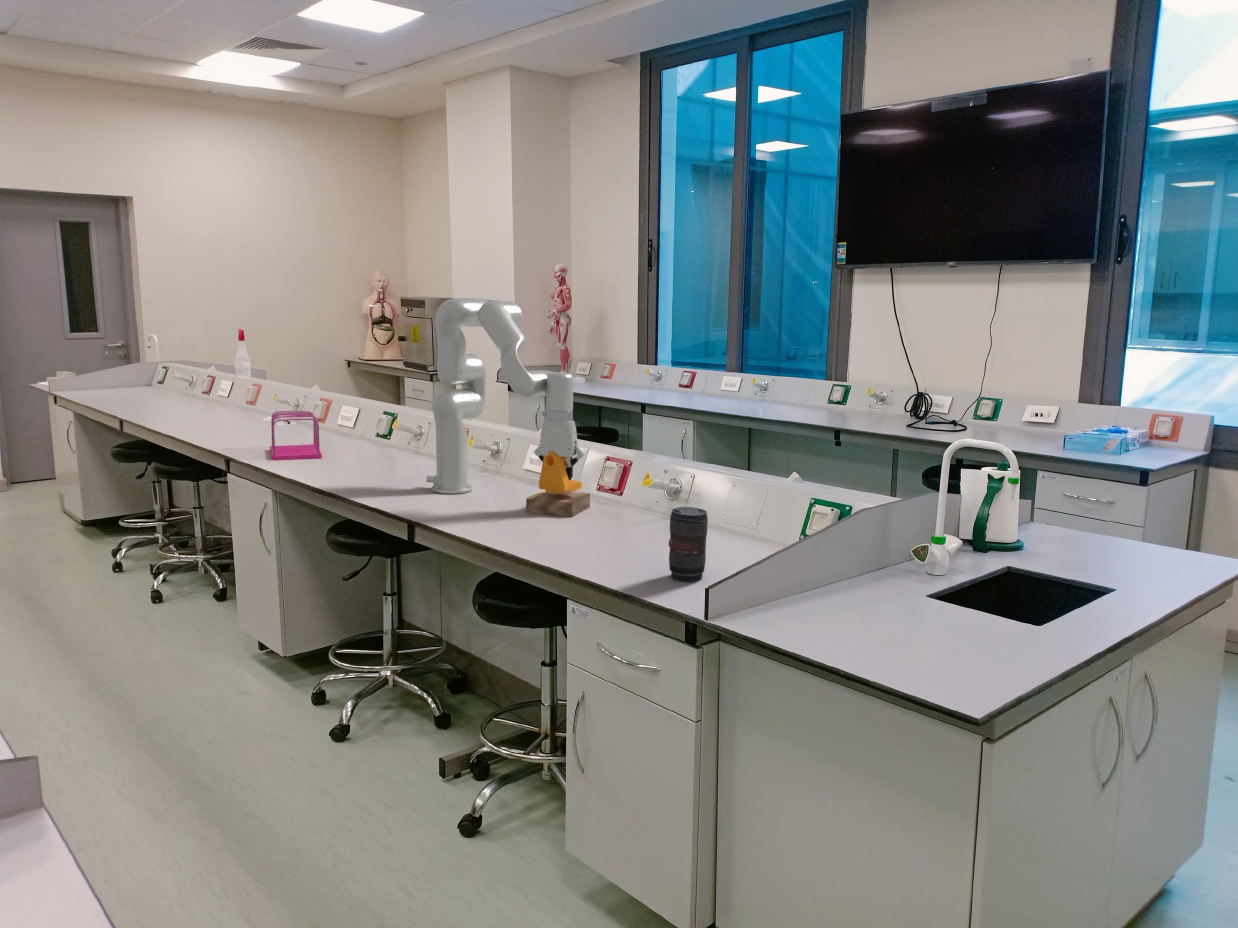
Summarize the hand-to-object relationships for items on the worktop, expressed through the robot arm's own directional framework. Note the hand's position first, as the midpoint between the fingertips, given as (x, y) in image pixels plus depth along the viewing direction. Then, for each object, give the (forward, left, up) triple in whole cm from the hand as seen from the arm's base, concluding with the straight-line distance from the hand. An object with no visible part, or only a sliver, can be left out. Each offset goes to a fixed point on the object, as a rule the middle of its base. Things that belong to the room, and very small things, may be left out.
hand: (558, 478), depth 258 cm
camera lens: (+51, -51, -9) cm, 73 cm away
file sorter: (-128, +49, -9) cm, 138 cm away
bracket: (+1, 0, -4) cm, 4 cm away
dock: (0, 0, -9) cm, 9 cm away
